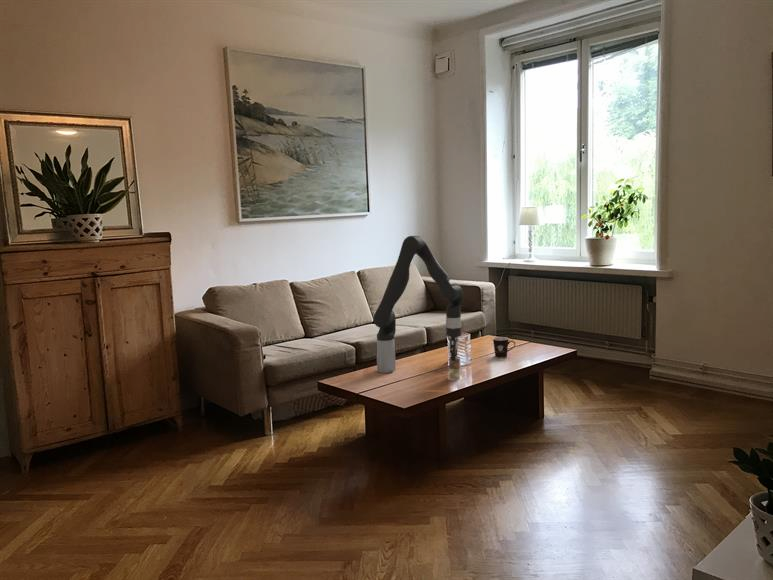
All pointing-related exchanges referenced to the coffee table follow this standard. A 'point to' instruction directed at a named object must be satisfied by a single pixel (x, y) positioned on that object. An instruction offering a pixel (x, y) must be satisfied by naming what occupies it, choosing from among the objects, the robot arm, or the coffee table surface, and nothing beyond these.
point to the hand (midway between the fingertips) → (454, 358)
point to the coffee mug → (501, 346)
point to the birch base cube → (454, 373)
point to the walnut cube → (454, 363)
